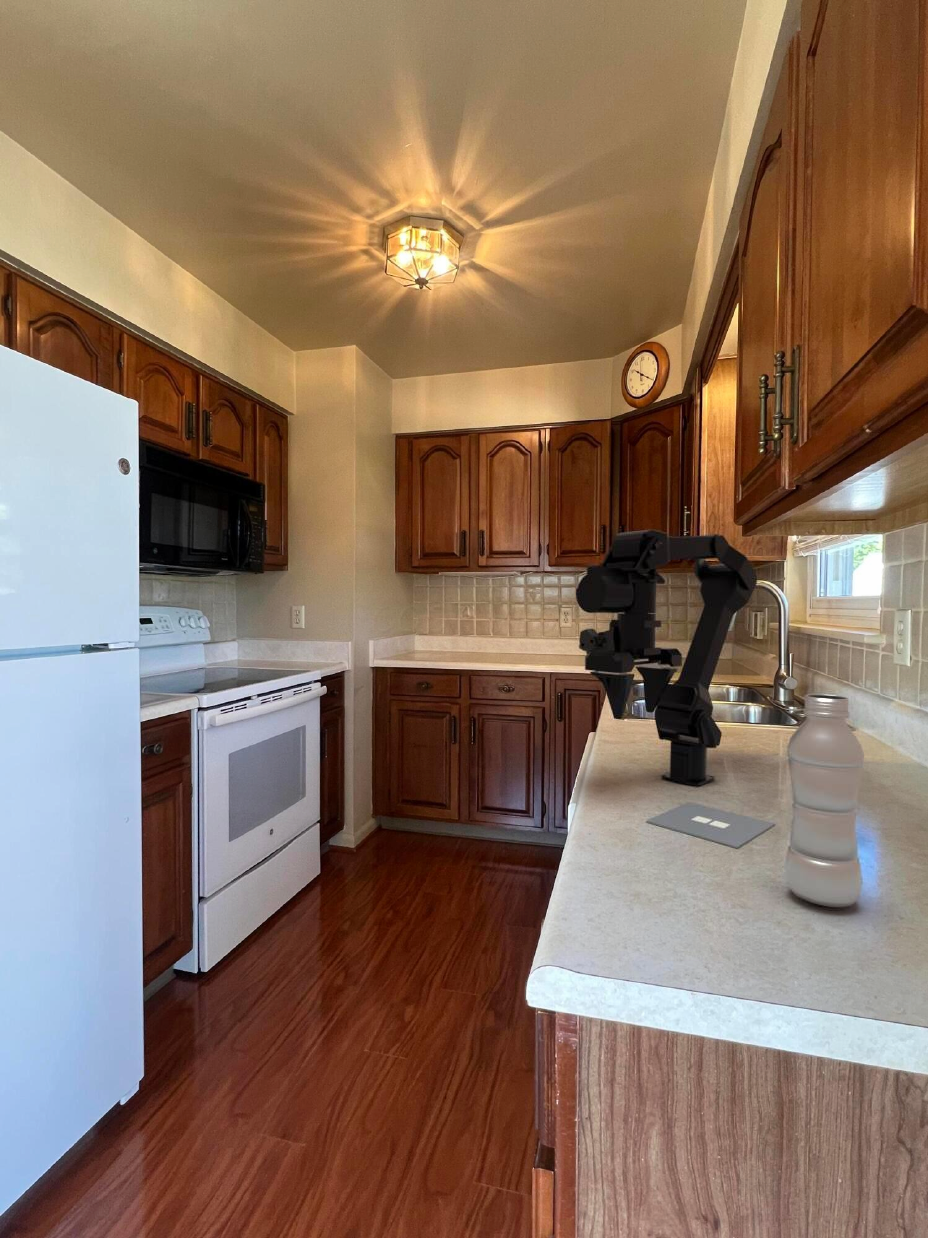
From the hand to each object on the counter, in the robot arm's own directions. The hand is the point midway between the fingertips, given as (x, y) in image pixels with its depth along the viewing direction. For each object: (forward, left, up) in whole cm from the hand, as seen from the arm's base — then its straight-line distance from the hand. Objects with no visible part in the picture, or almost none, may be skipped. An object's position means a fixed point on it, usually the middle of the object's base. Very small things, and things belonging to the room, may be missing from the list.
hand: (634, 715), depth 94 cm
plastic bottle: (+17, +31, -12) cm, 37 cm away
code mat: (+4, +14, -12) cm, 19 cm away
